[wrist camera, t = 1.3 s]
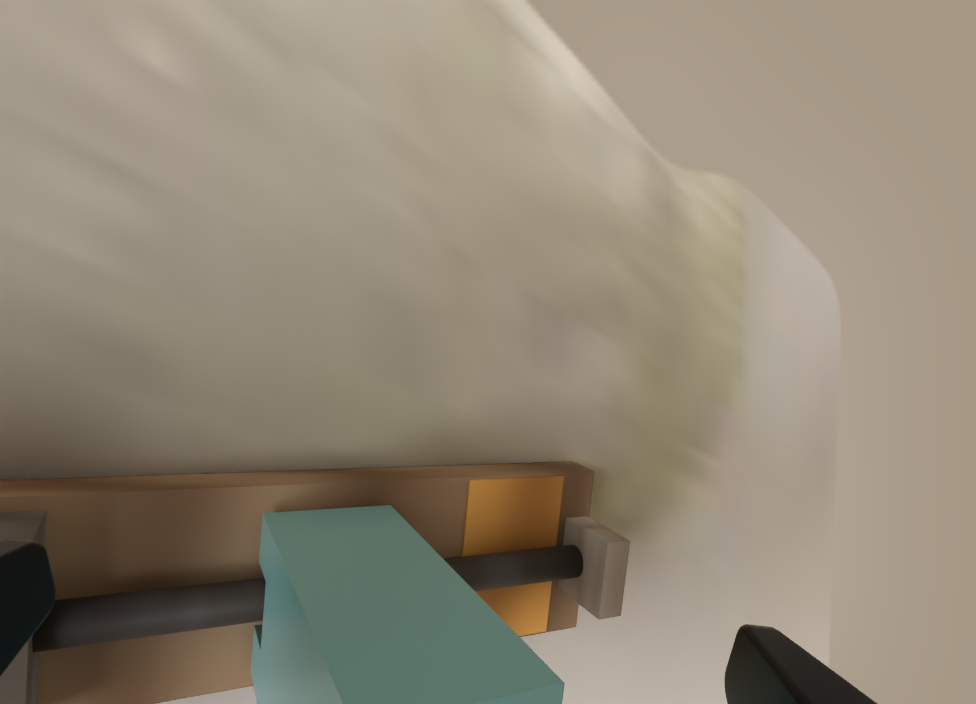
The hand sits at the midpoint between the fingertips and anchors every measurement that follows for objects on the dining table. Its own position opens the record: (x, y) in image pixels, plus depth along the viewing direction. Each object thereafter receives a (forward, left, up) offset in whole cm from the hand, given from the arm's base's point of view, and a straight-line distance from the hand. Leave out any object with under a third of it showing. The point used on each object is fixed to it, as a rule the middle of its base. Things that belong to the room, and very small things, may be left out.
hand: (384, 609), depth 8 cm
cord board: (-5, -3, -14) cm, 15 cm away
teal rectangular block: (-5, -2, -12) cm, 13 cm away
